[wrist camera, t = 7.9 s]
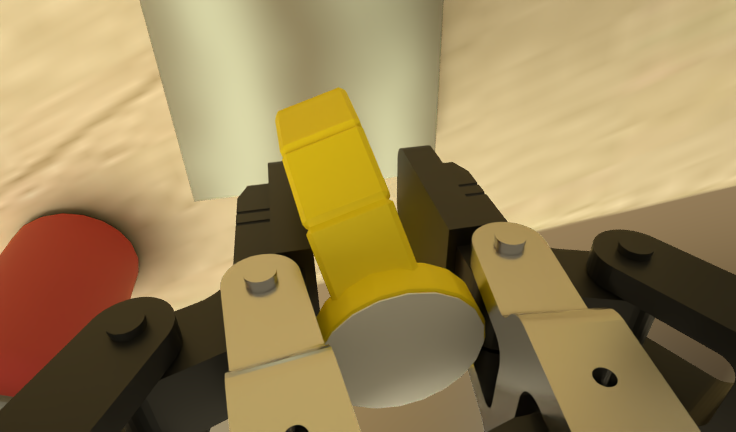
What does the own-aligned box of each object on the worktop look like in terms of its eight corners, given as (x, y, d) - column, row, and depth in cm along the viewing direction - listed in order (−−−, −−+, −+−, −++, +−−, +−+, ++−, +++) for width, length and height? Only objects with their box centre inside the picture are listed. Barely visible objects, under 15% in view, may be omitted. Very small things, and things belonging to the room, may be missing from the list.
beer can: (110, 311, 31) (42, 507, 21) (-6, 270, 27) (-151, 478, 18) (161, 240, 28) (112, 420, 19) (42, 187, 25) (-93, 370, 15)
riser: (419, -107, 21) (449, -108, 18) (413, 140, 28) (433, 172, 25) (136, -98, 20) (113, -97, 16) (202, 163, 26) (194, 201, 23)
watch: (418, 231, 14) (508, 417, 9) (330, 265, 14) (378, 467, 9) (356, 37, 10) (456, 189, 6) (236, 84, 10) (239, 274, 6)
